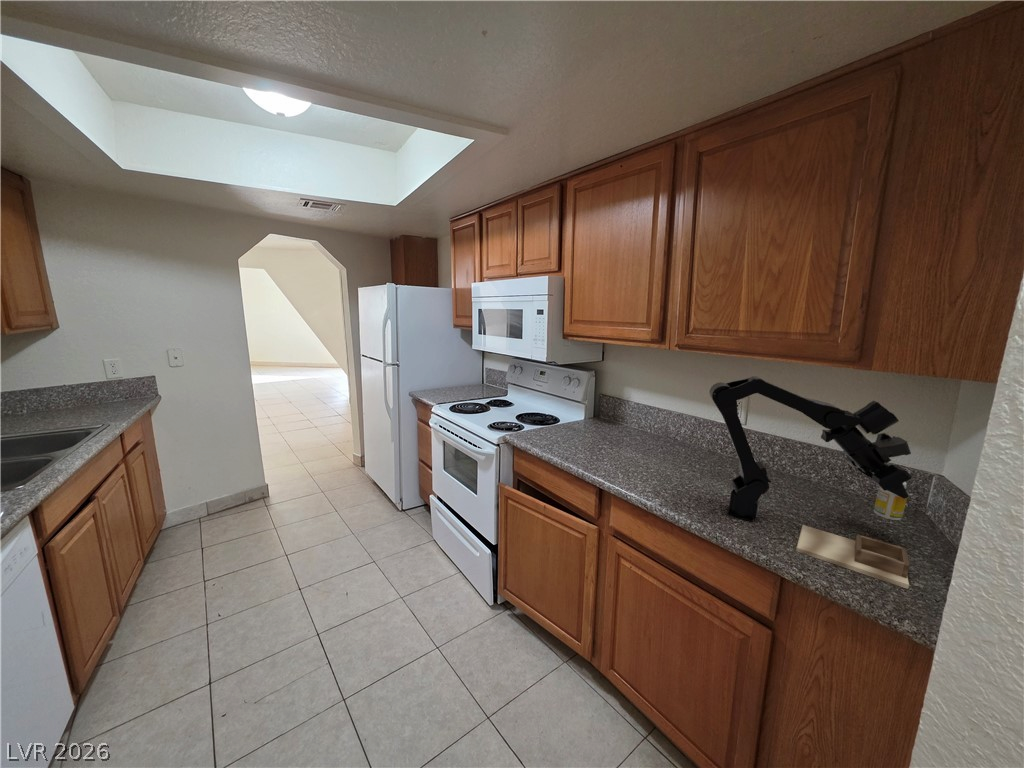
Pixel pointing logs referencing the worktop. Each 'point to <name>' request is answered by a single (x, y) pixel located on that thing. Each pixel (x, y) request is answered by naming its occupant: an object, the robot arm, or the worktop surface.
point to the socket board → (857, 554)
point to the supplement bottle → (889, 504)
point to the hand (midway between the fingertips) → (899, 492)
